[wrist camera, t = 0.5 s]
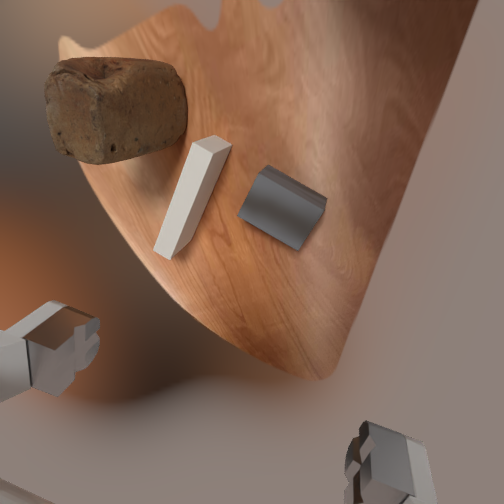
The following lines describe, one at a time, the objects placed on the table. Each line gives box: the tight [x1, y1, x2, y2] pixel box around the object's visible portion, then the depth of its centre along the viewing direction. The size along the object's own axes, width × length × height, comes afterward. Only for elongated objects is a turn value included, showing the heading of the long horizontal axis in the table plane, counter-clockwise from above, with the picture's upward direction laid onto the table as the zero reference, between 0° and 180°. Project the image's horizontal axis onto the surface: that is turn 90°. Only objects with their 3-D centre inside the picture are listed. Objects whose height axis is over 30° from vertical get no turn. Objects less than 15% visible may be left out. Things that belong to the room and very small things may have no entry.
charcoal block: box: [237, 165, 327, 251], centre depth 50 cm, size 7×10×6 cm
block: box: [44, 57, 187, 165], centre depth 42 cm, size 11×8×20 cm
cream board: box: [153, 135, 232, 260], centre depth 51 cm, size 18×3×8 cm, turn 154°
